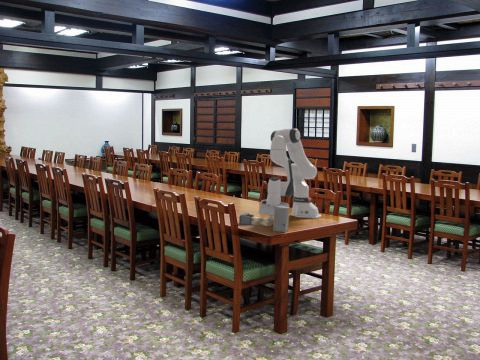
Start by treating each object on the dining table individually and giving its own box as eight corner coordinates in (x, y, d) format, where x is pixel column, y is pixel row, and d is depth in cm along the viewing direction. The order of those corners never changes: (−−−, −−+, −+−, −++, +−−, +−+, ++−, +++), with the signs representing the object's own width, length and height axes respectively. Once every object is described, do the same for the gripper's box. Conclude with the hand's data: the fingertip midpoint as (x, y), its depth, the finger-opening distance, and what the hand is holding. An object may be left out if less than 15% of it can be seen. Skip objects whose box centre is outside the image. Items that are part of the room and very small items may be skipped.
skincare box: (272, 231, 322) (273, 206, 320) (276, 229, 328) (277, 205, 327) (285, 232, 319) (286, 207, 317) (289, 230, 325) (289, 206, 323)
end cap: (253, 222, 349) (253, 213, 349) (249, 224, 341) (249, 215, 340) (243, 221, 352) (244, 212, 351) (239, 223, 343) (239, 214, 343)
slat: (250, 224, 343) (250, 217, 343) (252, 223, 347) (252, 216, 346) (270, 226, 338) (270, 219, 338) (272, 225, 342) (272, 218, 342)
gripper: (290, 202, 337) (289, 222, 339) (261, 200, 344) (260, 220, 346) (288, 203, 331) (287, 224, 333) (258, 201, 338) (257, 221, 340)
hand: (273, 222), depth 339 cm, fingers closed
